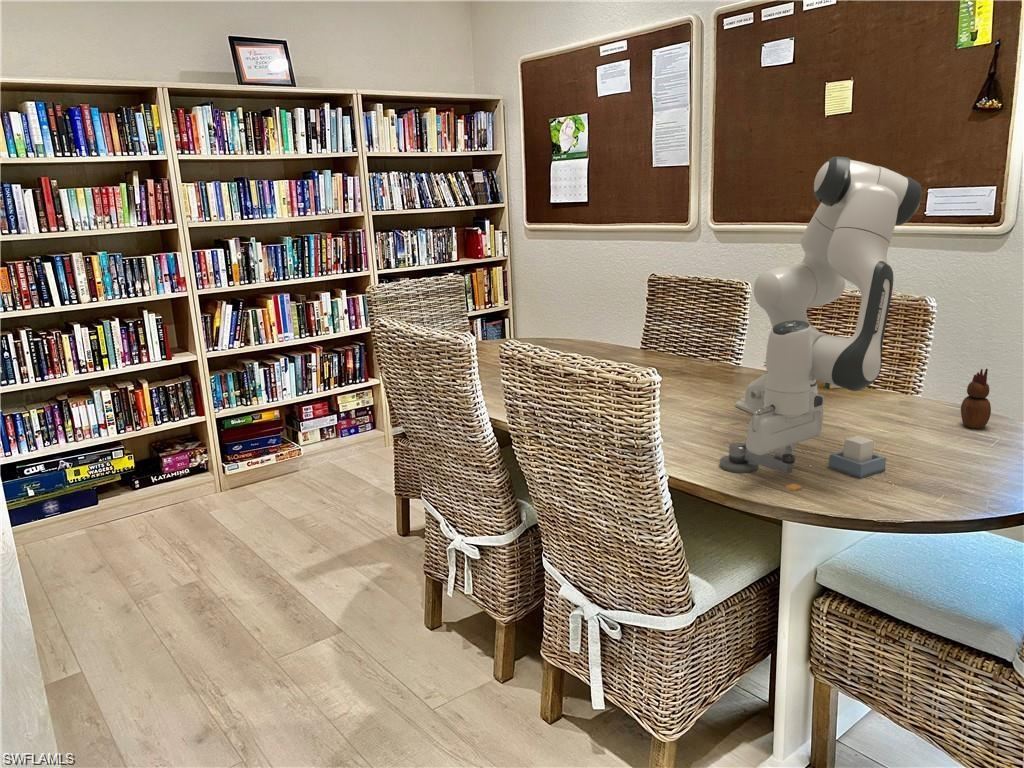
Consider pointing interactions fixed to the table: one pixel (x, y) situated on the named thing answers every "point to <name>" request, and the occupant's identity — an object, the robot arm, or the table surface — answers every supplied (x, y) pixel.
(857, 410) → the table surface
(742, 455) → the crank arm
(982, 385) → the wooden figurine
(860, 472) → the tray
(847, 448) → the cream block
